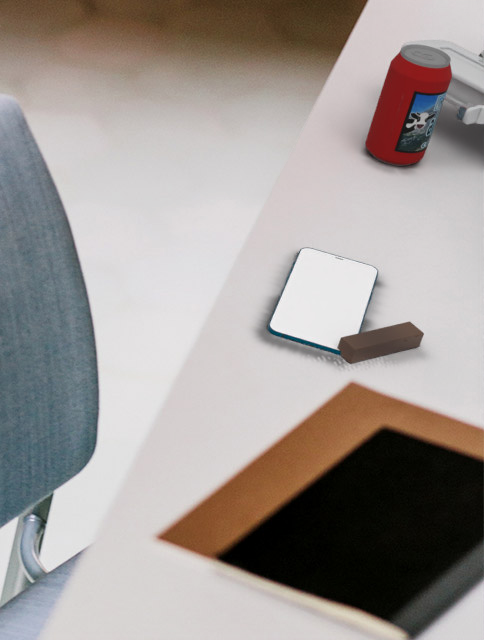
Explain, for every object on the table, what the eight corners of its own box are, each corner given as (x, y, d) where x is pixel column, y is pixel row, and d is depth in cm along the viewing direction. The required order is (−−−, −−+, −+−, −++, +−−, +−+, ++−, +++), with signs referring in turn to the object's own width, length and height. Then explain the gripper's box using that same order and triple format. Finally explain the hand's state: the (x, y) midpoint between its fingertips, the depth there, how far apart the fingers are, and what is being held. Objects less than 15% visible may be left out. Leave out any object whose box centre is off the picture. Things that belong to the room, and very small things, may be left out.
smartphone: (350, 363, 104) (377, 275, 116) (353, 355, 104) (380, 267, 115) (262, 337, 106) (298, 253, 118) (265, 328, 105) (300, 245, 117)
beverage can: (411, 176, 133) (447, 73, 125) (354, 156, 135) (386, 53, 127) (429, 155, 137) (465, 54, 130) (373, 136, 140) (406, 36, 132)
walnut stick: (404, 334, 108) (409, 320, 107) (419, 346, 107) (424, 333, 106) (335, 351, 105) (340, 337, 104) (349, 364, 103) (354, 350, 102)
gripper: (451, 20, 144) (372, 34, 138) (590, 89, 132) (511, 108, 126) (434, 70, 148) (356, 86, 142) (568, 141, 136) (490, 162, 130)
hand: (430, 97), depth 134 cm, fingers open, 8 cm apart
